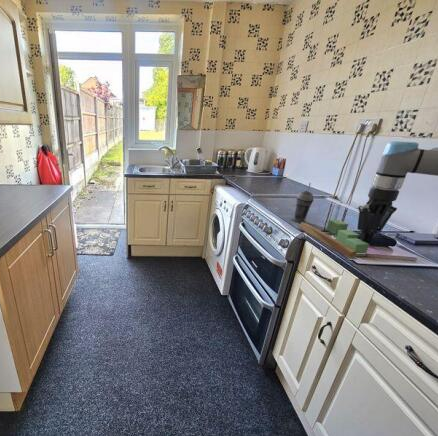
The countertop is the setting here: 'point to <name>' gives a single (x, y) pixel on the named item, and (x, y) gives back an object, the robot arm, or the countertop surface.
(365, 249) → the block
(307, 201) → the beverage cup
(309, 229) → the oak rail
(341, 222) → the block
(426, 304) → the countertop surface
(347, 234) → the block middle
